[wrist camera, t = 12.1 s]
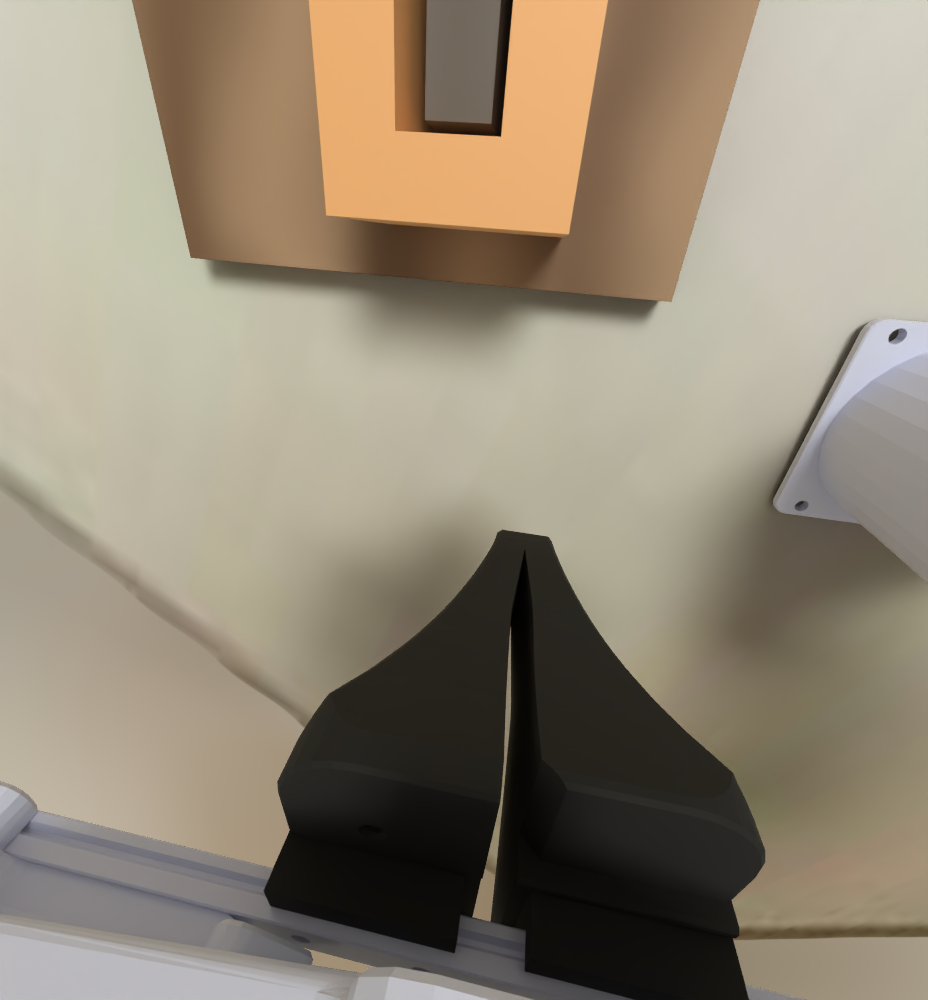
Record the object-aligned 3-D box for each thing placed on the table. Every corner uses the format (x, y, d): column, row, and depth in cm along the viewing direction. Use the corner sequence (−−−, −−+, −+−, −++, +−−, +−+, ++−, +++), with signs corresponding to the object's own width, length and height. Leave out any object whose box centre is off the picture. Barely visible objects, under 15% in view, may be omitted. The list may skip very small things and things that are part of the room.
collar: (637, -230, 10) (708, -602, 5) (562, 237, 14) (569, 234, 10) (380, -222, 10) (263, -551, 6) (388, 224, 15) (326, 215, 11)
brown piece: (783, -137, 11) (963, -427, 6) (661, 297, 16) (708, 318, 11) (137, -131, 13) (-100, -349, 8) (216, 256, 18) (99, 260, 13)
